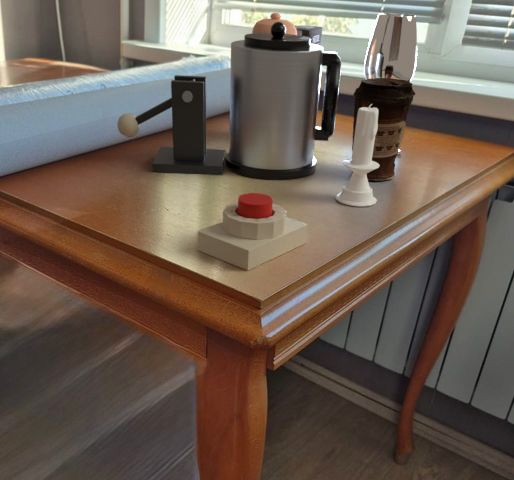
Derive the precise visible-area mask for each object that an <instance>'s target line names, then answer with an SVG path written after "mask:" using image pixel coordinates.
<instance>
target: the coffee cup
mask: <svg viewBox="0 0 514 480" xmlns="http://www.w3.org/2000/svg"><path fill="white" fill-rule="evenodd" d="M352 94H353V95H352V96H353V97H354V101H353V102H354V104H353V107H354V109H353V122H352V144H351V151H352V152H353V144H354V136H355V129H356V121H357V114H358V110H359V108H362V107H369V106H370V105H371V104H372V105H371V107H370V108H377V109H378V111H379V113H378V130H377V133H376V135H375V141H374V148H373V155H372V161H375V162H377V163H378V164H379V165H380V166H379V168H377V169H375V170H373V171H371V172H369V173H367V179H368V181H387V180H388V181H389V180H392V179H393V178H395V176H396V174H395V168H396V158H397V157H398V155H399V154H398V151H399V150H400V147H401V145H402V143H403V138H404V135H405V132H406V126H407V123H406V121H407V118H408V113H409V109H410V107H411V105H412V102H413V101H414V97H415V96H416V92H415V91H414V89H413V83H412V82H411V81H410V82H409V81H406V80H401V79H393V78H375V79H363V80H360V84H359V85H358V87H356V89H355V91H354V92H353V93H352ZM352 152H351V153H352ZM350 171H351V170H350ZM352 174H353V172H352V171H351V175H352Z"/></svg>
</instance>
